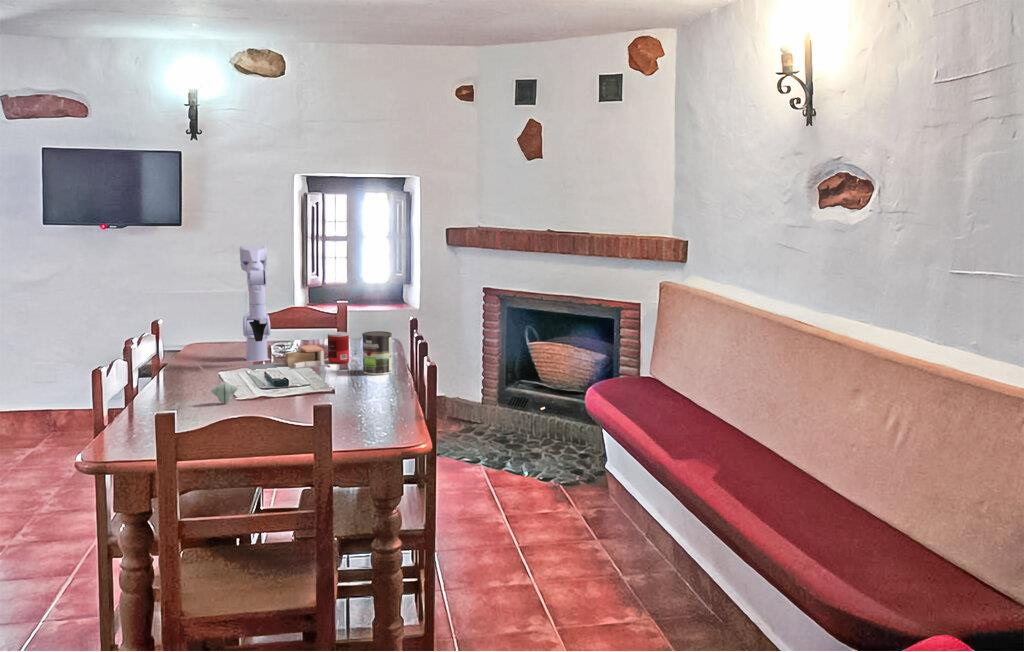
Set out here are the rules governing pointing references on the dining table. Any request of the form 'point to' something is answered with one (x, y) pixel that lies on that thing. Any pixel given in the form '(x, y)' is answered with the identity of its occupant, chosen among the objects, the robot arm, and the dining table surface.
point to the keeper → (307, 364)
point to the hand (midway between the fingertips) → (258, 341)
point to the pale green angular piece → (224, 391)
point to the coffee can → (377, 353)
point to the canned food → (338, 347)
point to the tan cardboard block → (298, 357)
